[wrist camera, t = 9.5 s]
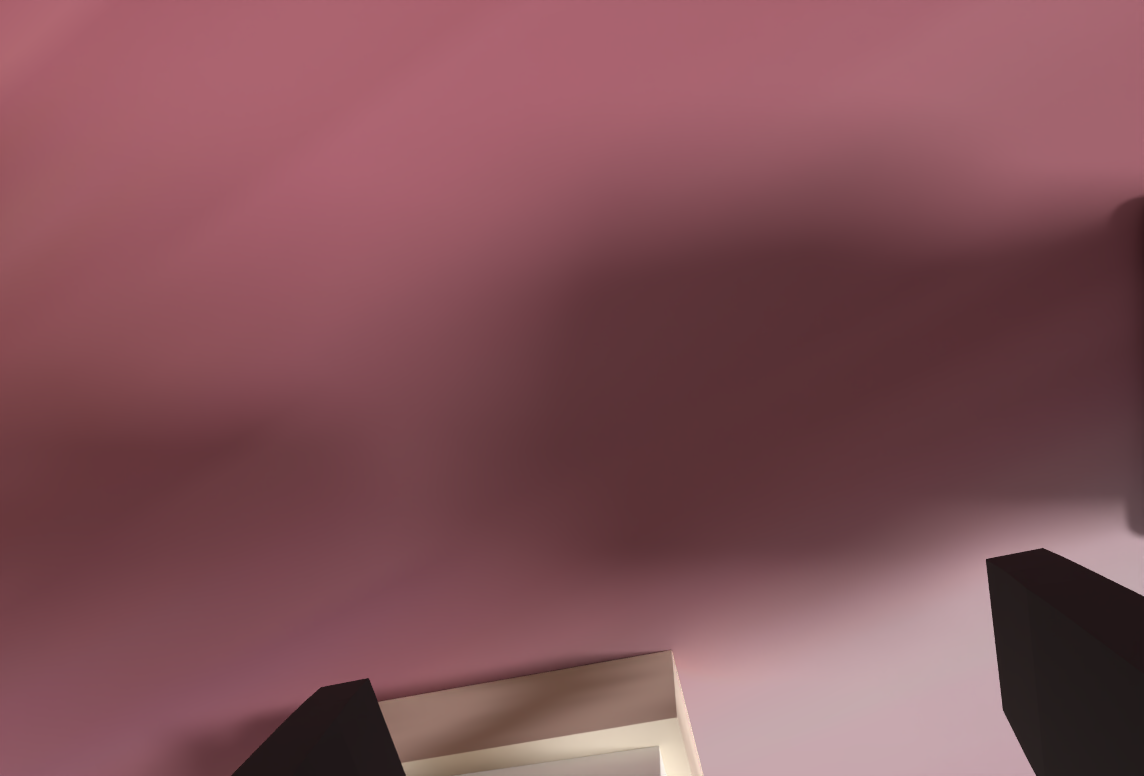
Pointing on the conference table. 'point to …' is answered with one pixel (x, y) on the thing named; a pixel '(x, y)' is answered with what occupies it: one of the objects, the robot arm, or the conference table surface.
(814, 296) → the conference table surface
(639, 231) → the conference table surface
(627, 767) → the top slab
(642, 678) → the base slab
